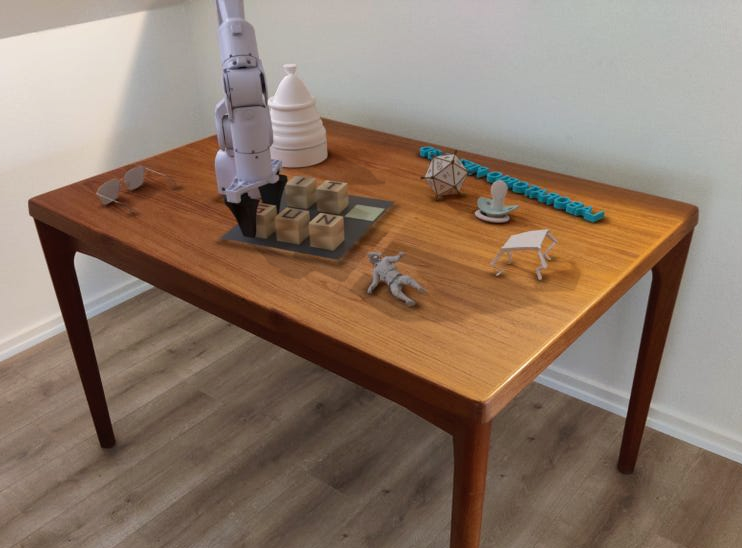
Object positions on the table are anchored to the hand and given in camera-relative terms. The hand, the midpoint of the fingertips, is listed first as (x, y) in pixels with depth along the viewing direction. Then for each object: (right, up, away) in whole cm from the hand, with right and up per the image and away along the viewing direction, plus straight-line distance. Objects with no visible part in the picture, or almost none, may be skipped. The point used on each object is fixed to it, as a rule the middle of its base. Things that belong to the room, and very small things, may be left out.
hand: (261, 226), depth 123 cm
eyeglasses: (-25, +8, +16) cm, 31 cm away
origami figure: (+43, -8, -10) cm, 45 cm away
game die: (+32, +8, +14) cm, 36 cm away
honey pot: (+3, +21, +32) cm, 39 cm away
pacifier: (+40, +3, +6) cm, 41 cm away
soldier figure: (+22, -12, -14) cm, 29 cm away
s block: (0, -1, +1) cm, 1 cm away
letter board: (+8, +1, +5) cm, 9 cm away
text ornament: (+44, +12, +18) cm, 49 cm away
